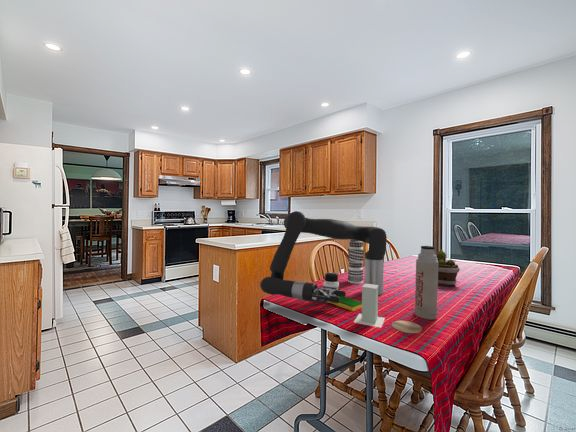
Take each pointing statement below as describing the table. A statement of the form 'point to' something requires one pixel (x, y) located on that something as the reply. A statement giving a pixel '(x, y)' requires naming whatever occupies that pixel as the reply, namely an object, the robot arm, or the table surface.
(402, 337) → the table surface
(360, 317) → the tile
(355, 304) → the dish sponge
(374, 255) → the robot arm
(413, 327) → the cork coaster
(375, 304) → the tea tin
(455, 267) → the flowerpot
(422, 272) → the thermos bottle
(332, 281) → the medicine bottle
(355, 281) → the decorative candle
